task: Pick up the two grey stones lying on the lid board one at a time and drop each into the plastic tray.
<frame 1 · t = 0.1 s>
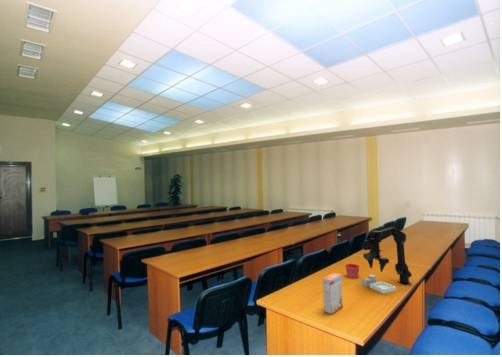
hand: (376, 269, 196), 15 cm above the table, fingers open, 9 cm apart
tray: (382, 289, 196), on the table
cracker box: (333, 309, 168), on the table
stone 1: (372, 281, 211), resting on lid board
flower pot: (352, 277, 222), on the table
stone 2: (367, 284, 204), resting on lid board
lid board: (369, 283, 208), on the table
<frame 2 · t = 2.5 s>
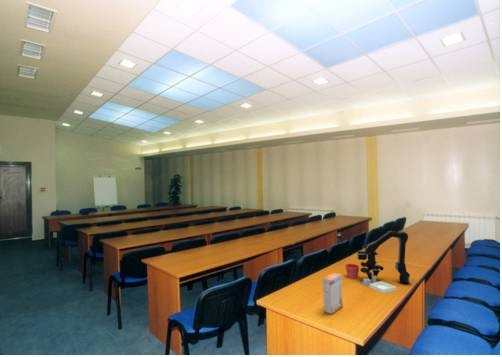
hand: (372, 279, 211), 1 cm above the table, fingers closed on stone 1, 4 cm apart
stone 1: (372, 281, 211), resting on lid board, touching gripper
everything else where it was.
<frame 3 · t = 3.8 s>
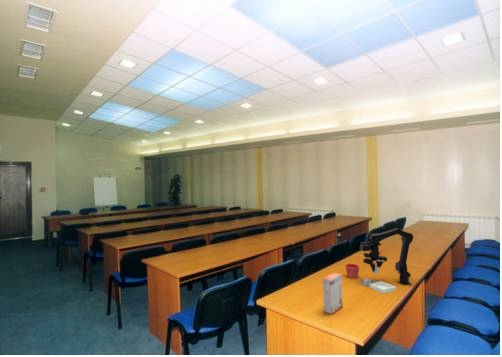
hand: (375, 271, 207), 10 cm above the table, fingers closed on stone 1, 4 cm apart
stone 1: (375, 272, 207), point 9 cm above the table, touching gripper
everything else where it was.
when the fingers open (5 cm above the table, at t = 5.5 s): stone 1 drops 3 cm, resting on tray.
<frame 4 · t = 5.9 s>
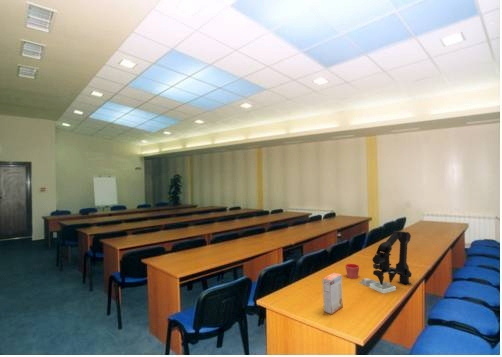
hand: (386, 283, 195), 5 cm above the table, fingers open, 9 cm apart
stone 1: (386, 288, 195), resting on tray
everything else where it was.
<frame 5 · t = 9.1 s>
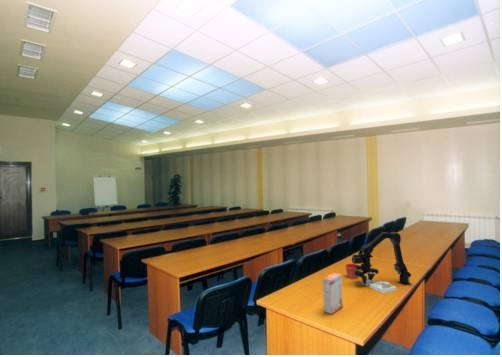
hand: (367, 283, 204), 1 cm above the table, fingers closed on stone 2, 5 cm apart
stone 2: (367, 284, 204), resting on lid board, touching gripper
everything else where it was.
when the fingers open (4 cm above the table, at t = 11.6 s): stone 2 drops 3 cm, resting on tray.
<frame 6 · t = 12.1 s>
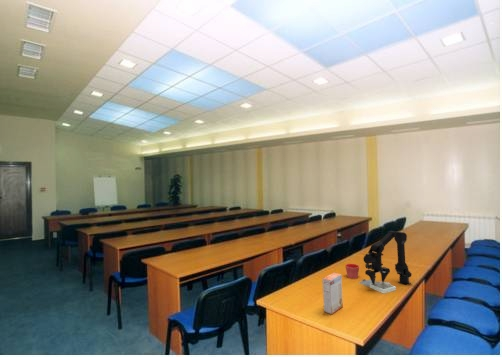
hand: (378, 283, 196), 4 cm above the table, fingers open, 9 cm apart
stone 2: (378, 288, 196), resting on tray
everything else where it was.
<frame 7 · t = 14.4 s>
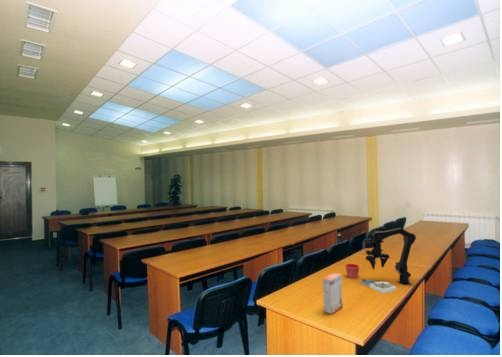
hand: (377, 268, 207), 12 cm above the table, fingers open, 9 cm apart
nothing on the table moved.
at the end: stone 1 inside the target area on the tray (2.5 cm from its centre), point 0.5 cm above the tray's base; stone 2 inside the target area on the tray (2.9 cm from its centre), point 0.5 cm above the tray's base; the gripper is holding nothing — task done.
